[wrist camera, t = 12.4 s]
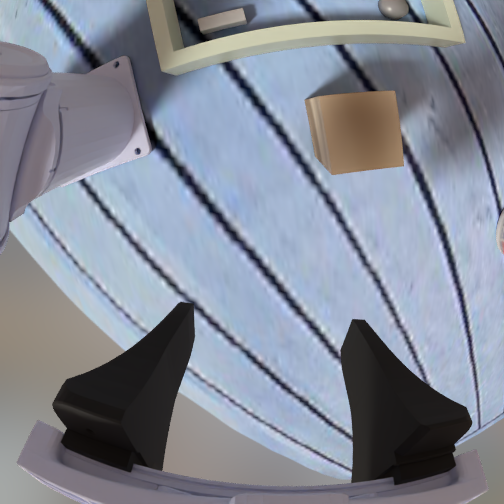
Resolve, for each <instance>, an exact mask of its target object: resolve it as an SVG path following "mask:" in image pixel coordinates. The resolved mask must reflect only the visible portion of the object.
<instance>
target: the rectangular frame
mask: <svg viewBox="0 0 504 504" xmlns="http://www.w3.org/2000/svg"><path fill="white" fill-rule="evenodd" d="M421 2H422V5H423V8H424V11H425V14H426V18H427V21H428V24H422V23H412V22H400V21H382V20H341V21H322V22H310V23H300V24H292V25H284V26H277V27H271V28H265V29H259V30H254V31H249V32H244V33H239V34H235V35H230V36H226V37H222V38H218V39H214V40H211V41H207V42H203V43H200V44H197V45H193V46H190V47H187V48H184V44H183V40H182V35H181V31H180V27H179V23H178V18H177V14H176V10H175V5H174V1H173V0H146V3H147V8H148V13H149V17H150V22H151V27H152V32H153V36H154V41H155V45H156V50H157V54H158V59H159V63H160V67H161V71H162V72H165V73H169V74H172V75H175V76H178V75H181V74H184V73H187V72H190V71H194V70H197V69H200V68H204V67H208V66H211V65H215V64H219V63H223V62H227V61H231V60H235V59H240V58H244V57H249V56H254V55H259V54H265V53H270V52H276V51H283V50H290V49H297V48H305V47H314V46H325V45H339V44H362V43H389V44H412V45H425V46H435V47H444V48H445V47H449V46H453V45H458V44H463V43H466V42H465V38H464V35H463V31H462V27H461V24H460V20H459V17H458V14H457V11H456V8H455V5H454V2H453V0H421ZM378 7H379V10H380V11H381V13H382V14H383V15H384V16H386V17H387V18H389V19H392V20H398V19H400V18H402V17H404V16H405V15H407V13H408V11H409V8H408V5H407V3H406V1H405V0H379V2H378ZM198 23H199V28H200V31H201V32H202V33H203V34H208V33H211V32H215V31H219V30H223V29H227V28H231V27H236V26H240V25H245V24H247V22H246V18H245V14H244V11H243V8H240V9H235V10H231V11H226V12H222V13H218V14H214V15H211V16H207V17H203V18H200V19H198Z"/></svg>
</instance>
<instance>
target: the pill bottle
mask: <svg viewBox="0 0 504 504" xmlns="http://www.w3.org/2000/svg"><path fill="white" fill-rule="evenodd" d="M496 242H497V246H498V248H499V250H500V251H501V253H502V254H503V255H504V209H503V211H502V213H501V215H500V218H499V221H498V224H497V229H496Z"/></svg>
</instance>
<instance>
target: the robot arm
mask: <svg viewBox="0 0 504 504" xmlns="http://www.w3.org/2000/svg"><path fill="white" fill-rule="evenodd" d="M118 62H119V66H118V67H117V68H116V63H118ZM137 148H140V150H141V153H140V154H138V153H137ZM151 150H152V146H151V143H150V139H149V136H148V132H147V128H146V124H145V120H144V117H143V113H142V109H141V105H140V101H139V97H138V92H137V88H136V84H135V80H134V75H133V71H132V66H131V62H130V59H129V57H127V56H121V57H118V58H116V59H114V60H112V61H110V62H108V63H106V64H104V65H102V66H100V67H98V68H96V69H94V70H92V71H90V72H89V73H87V74H77V73H53V72H52V70H51V69H50V68H49V65H48V63H47V60H46V58H45V57H44V56H42V55H41V54H39V53H37V52H35V51H33V50H31V49H28V48H25V47H22V46H19V45H15V44H11V43H7V42H1V41H0V254H1V253H2V252H3V250H4V248H5V246H6V243H7V241H8V236H9V222H11V221H13V220H14V219H16V218H18V217H19V216H21V215H22V214H24V212H25V208H26V206H27V205H28V203H29V202H31V201H32V200H34V199H36V198H38V197H40V196H42V195H43V194H45V193H47V192H49V191H51V190H53V189H55V188H57V187H59V186H60V187H64V186H66V185H69V184H71V183H73V182H76V181H78V180H81V179H83V178H86V177H88V176H91V175H93V174H96V173H98V172H101V171H104V170H106V169H109V168H112V167H114V166H117V165H120V164H123V163H126V162H129V161H131V160H134V159H137V158H140V157H143V156H146V155H148V154H150V153H151ZM194 338H195V328H194V304H192V303H185V302H180V303H178V304H177V305H176V307H175V308H174V309H173V310H172V311H171V312H170V313H169V314H168V315H167V316H166V317H165V318H164V319H163V320H162V321H161V322H160V323H159V324H158V325H157V326H156V327H155V328H154V329H153V330H152V331H151V332H150V333H148V334H147V335H146V336H145V337H144V338H143V339H141V340H140V341H139V342H138V343H136V344H135V345H134V346H133V347H131V348H130V349H128V350H127V351H126V352H124V353H123V354H121V355H119V356H118V357H116V358H115V359H113V360H111V361H109V362H108V363H106V364H104V365H102V366H100V367H98V368H95V369H93V370H91V371H89V372H86V373H84V374H81V375H78V376H75V377H72V378H69V379H67V380H66V381H65V383H64V384H63V385H62V387H61V389H60V391H59V393H58V394H57V396H56V398H55V400H54V402H53V404H52V405H53V409H54V411H55V413H56V414H57V416H58V417H59V418H60V420H61V421H62V422H63V424H64V425H65V426H66V427H67V430H66V432H65V434H64V433H63V432H61V431H60V430H58V429H56V428H54V427H52V426H50V425H48V424H46V423H44V422H42V421H40V420H37V422H36V424H35V426H34V427H33V429H32V431H31V434H30V435H29V437H28V439H27V441H26V444H25V446H24V448H23V450H22V452H21V454H20V456H19V458H18V461H17V464H18V465H19V466H20V467H21V468H23V469H24V470H25V471H27V472H28V473H29V474H30V475H32V476H33V477H34V478H36V479H37V480H39V481H40V482H42V483H43V484H44V485H46V486H48V487H50V488H52V489H53V490H55V491H57V492H59V493H61V494H63V495H65V496H67V497H69V498H71V499H73V500H75V501H77V502H80V503H82V504H466V503H468V502H469V501H471V500H473V499H475V498H476V497H478V496H480V495H481V494H483V493H485V492H486V491H488V485H487V481H486V478H485V474H484V471H483V468H482V465H481V461H480V458H479V455H478V452H477V450H476V449H474V450H471V451H469V452H466V453H463V454H460V455H458V456H456V457H454V456H453V452H454V451H455V450H456V449H455V445H454V444H455V443H456V442H457V441H458V440H459V439H460V438H461V437H462V436H463V435H464V434H466V432H467V431H468V430H469V429H470V427H471V425H472V420H471V418H470V415H469V413H468V410H467V408H466V407H465V406H463V405H461V404H459V403H457V402H454V401H452V400H450V399H449V398H447V397H445V396H444V395H442V394H440V393H439V392H437V391H436V390H434V389H433V388H431V387H430V386H429V385H427V384H426V383H424V382H423V381H422V380H421V379H419V378H418V377H417V376H416V375H415V374H414V373H412V372H411V371H410V370H409V369H408V368H407V367H406V366H405V365H404V364H403V363H402V362H401V361H400V360H399V359H398V358H397V357H396V356H395V355H394V354H393V353H392V352H391V350H390V349H389V348H388V347H387V346H386V345H385V344H384V342H383V341H382V340H381V339H380V338H379V336H378V335H377V334H376V333H375V332H374V330H373V329H372V328H371V327H370V326H369V324H368V323H367V322H366V321H365V320H358V319H352V322H351V324H350V327H349V330H348V332H347V335H346V337H345V340H344V343H343V345H342V348H341V350H340V351H341V364H342V371H343V376H344V381H345V385H346V390H347V395H348V399H349V404H350V409H351V417H352V431H353V467H352V481H351V483H348V484H337V485H322V486H262V485H247V484H236V483H235V484H234V483H226V482H219V481H211V480H205V479H199V478H193V477H187V476H182V475H177V474H172V473H168V472H164V471H162V468H163V462H164V454H165V448H166V442H167V437H168V431H169V426H170V421H171V416H172V412H173V407H174V403H175V399H176V396H177V393H178V390H179V387H180V384H181V381H182V379H183V376H184V373H185V370H186V367H187V365H188V362H189V359H190V356H191V352H192V348H193V343H194Z"/></svg>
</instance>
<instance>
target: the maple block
mask: <svg viewBox="0 0 504 504" xmlns="http://www.w3.org/2000/svg"><path fill="white" fill-rule="evenodd" d="M305 105H306V110H307V115H308V120H309V125H310V130H311V136H312V141H313V147H314V153H315V157H316V158H317V159H318V160H319V161H320V162H321V163H322V164H323V165H324V167H325V168H326V169H327V170H328V171H329V172H330V173H331V174H332V175H336V174H343V173H351V172H358V171H366V170H374V169H383V168H391V167H401V166H404V160H403V148H402V138H401V129H400V121H399V114H398V107H397V101H396V94H395V91H372V92H357V93H344V94H334V95H325V96H318V97H314V98H310V99H307V100H305Z"/></svg>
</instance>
